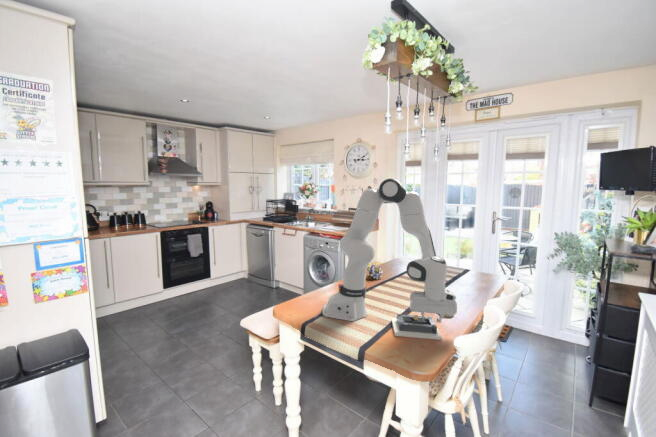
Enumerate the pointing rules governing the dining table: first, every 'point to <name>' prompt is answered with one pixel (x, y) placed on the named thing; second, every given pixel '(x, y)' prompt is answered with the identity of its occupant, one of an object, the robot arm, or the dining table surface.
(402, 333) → the plate
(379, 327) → the dining table surface
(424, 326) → the dark grey rectangular frame
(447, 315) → the bread roll
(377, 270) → the passion flower
